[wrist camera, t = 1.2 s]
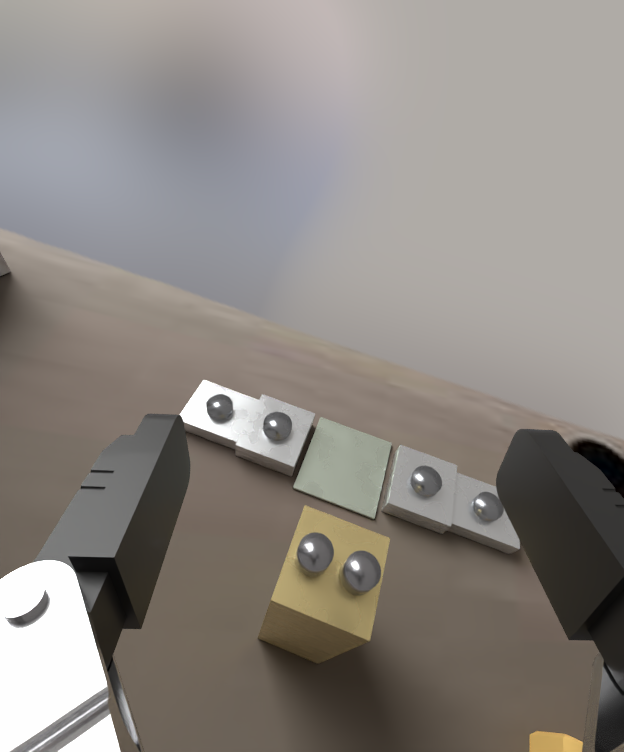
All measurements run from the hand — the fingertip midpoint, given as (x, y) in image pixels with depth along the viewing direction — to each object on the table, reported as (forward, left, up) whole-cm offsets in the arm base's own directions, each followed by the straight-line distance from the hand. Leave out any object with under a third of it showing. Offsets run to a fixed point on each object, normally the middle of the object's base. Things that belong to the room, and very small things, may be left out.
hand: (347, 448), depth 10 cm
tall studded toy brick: (+2, +1, -25) cm, 25 cm away
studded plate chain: (+2, +14, -25) cm, 29 cm away
